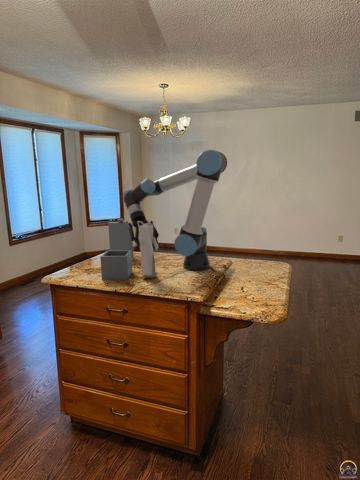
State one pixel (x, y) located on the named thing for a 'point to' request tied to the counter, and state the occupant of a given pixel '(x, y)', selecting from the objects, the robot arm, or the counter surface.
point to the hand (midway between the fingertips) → (150, 249)
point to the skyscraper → (147, 250)
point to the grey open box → (116, 264)
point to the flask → (120, 236)
